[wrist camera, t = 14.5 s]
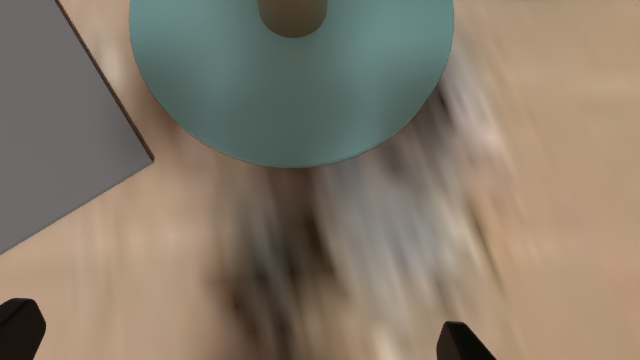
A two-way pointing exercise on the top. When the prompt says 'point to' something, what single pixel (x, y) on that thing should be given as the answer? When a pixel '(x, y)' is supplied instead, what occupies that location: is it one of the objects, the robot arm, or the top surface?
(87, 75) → the mat
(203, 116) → the teal disc with post
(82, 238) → the top surface
